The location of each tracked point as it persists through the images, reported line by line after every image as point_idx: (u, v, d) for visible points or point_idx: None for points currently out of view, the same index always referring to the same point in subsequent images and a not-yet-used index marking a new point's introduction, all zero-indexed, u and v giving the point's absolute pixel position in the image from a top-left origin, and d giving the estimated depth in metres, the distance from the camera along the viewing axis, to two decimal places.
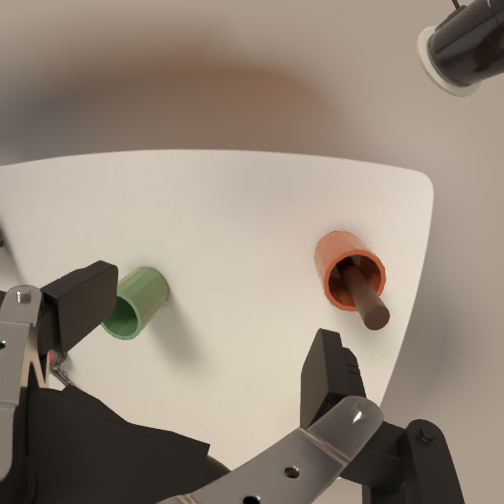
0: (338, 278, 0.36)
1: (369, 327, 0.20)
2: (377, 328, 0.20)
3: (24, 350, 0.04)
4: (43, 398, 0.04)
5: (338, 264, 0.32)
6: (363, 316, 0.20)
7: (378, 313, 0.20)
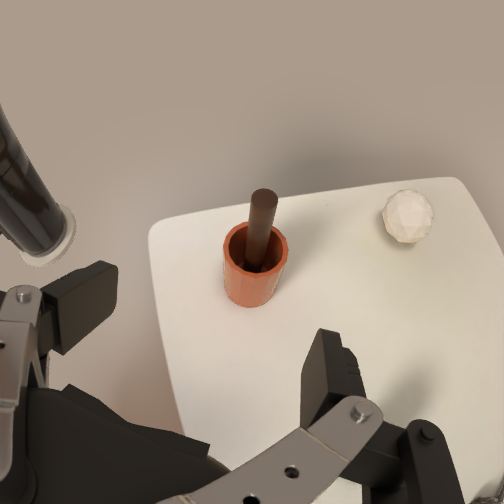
0: None
1: (276, 201, 0.22)
2: (274, 194, 0.23)
3: (24, 350, 0.04)
4: (43, 398, 0.04)
5: None
6: (268, 211, 0.22)
7: (259, 199, 0.22)
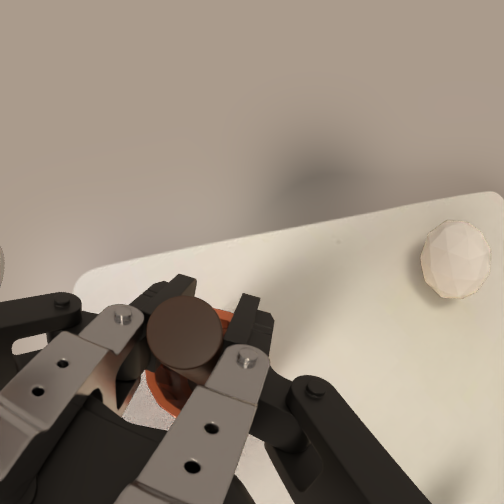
0: None
1: (216, 341, 0.07)
2: (212, 316, 0.08)
3: (86, 378, 0.04)
4: (89, 431, 0.04)
5: None
6: (194, 369, 0.07)
7: (168, 334, 0.07)
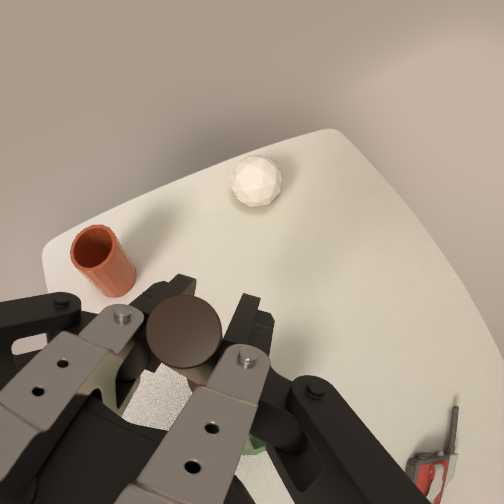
0: None
1: (215, 340, 0.07)
2: (211, 315, 0.08)
3: (86, 377, 0.04)
4: (89, 431, 0.04)
5: None
6: (194, 369, 0.07)
7: (167, 333, 0.07)
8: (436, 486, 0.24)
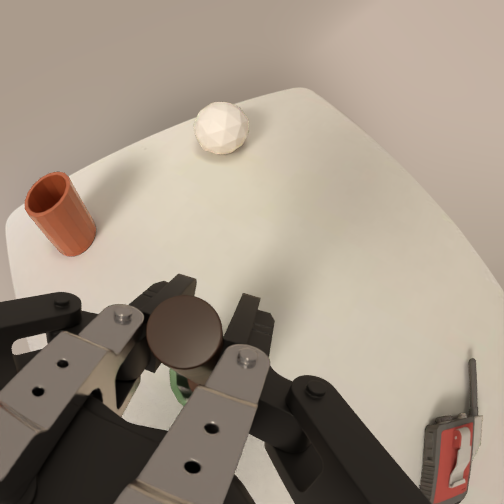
0: None
1: (216, 340, 0.07)
2: (212, 316, 0.08)
3: (86, 378, 0.04)
4: (88, 431, 0.04)
5: None
6: (194, 369, 0.07)
7: (168, 333, 0.07)
8: (464, 455, 0.20)
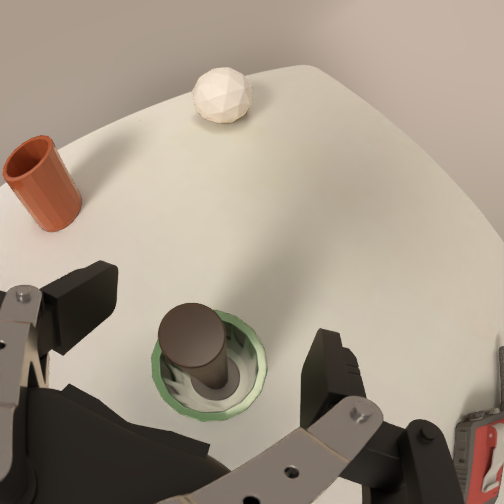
0: None
1: (220, 343, 0.08)
2: (216, 321, 0.09)
3: (24, 350, 0.04)
4: (43, 398, 0.04)
5: (213, 387, 0.18)
6: (201, 368, 0.08)
7: (177, 337, 0.08)
8: (500, 454, 0.15)
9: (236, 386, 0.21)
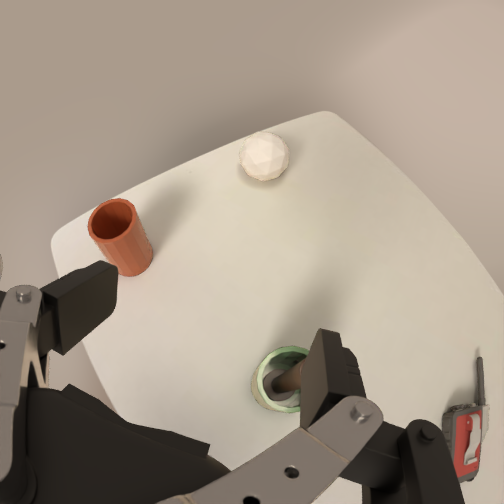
0: None
1: None
2: None
3: (24, 350, 0.04)
4: (43, 398, 0.04)
5: (284, 392, 0.28)
6: None
7: None
8: (475, 436, 0.25)
9: (294, 390, 0.31)
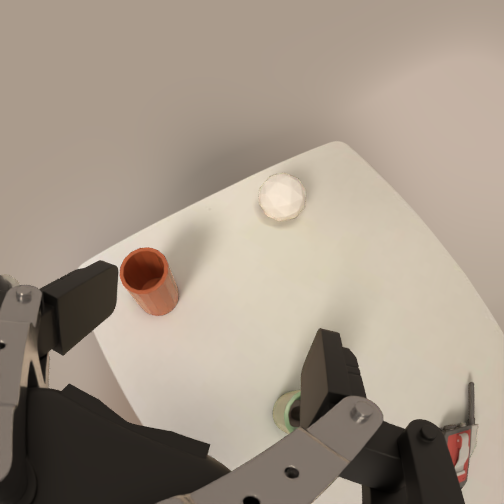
0: None
1: None
2: None
3: (24, 350, 0.04)
4: (43, 398, 0.04)
5: None
6: None
7: None
8: (464, 453, 0.28)
9: None
